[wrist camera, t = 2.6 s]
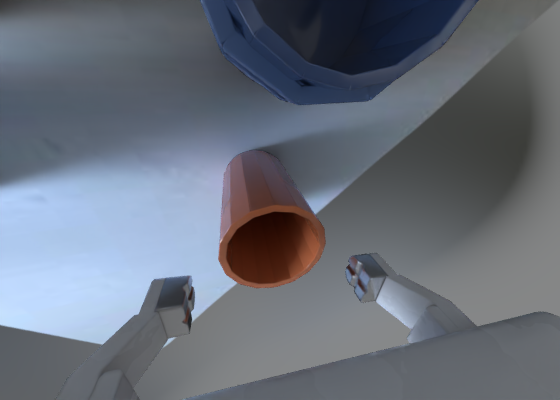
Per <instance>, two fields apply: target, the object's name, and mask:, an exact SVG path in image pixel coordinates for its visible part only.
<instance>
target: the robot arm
mask: <svg viewBox="0 0 560 400" xmlns="http://www.w3.org/2000/svg"><path fill="white" fill-rule="evenodd" d="M348 262H349V263H350V264H349V265H348V266H347V267H346V271H345V273H346V278H347V281H348V283H349V284H350V285H351V286H353V287H354V292H355V294H356V295H357V297H358V299H359V300H360V302H361V303H364V302H370V301H376V302H377V303H378V304H379V305H380V306H382V307H383V308H384V309H386V310H387V311H388V312H390V313H391V314H392V315H393V316H395V317H396V318H397V319H398V320H400V321H401V322H402V323H403V324H405V325H406V326H407V327H409V328H410V329H411V332H410V333H409V335H408V337H407V340H408V341H409V344H405V345H401V346H397V347H393V348H388V349H384V350H380V351H376V352H372V353H368V354H364V355H360V356H357V357H352V358H348V359H344V360H340V361H336V362H332V363H328V364H324V365H320V366H316V367H311V368H307V369H303V370H299V371H296V372H291V373H287V374H283V375H279V376H275V377H271V378H267V379H263V380H259V381H255V382H251V383H247V384H243V385H239V386H235V387H230V388H226V389H222V390H218V391H215V392H210V393H206V394H203V395H198V396H194V397H190V398H186V399H182V400H560V317H559V316H556V315H554V314H551V313H548V312H534V313H530V314H526V315H522V316H518V317H514V318H510V319H506V320H502V321H498V322H494V323H490V324H486V325H482V326H478V327H477V326H476V325H475V324H474V323H473V322H472V321H471V320H470V319H469V318H468V317H467V316H466V315H465V314H464V313H462V311H461V310H459V309H458V308H457V307H456V306H455V305H454V304H453V303H452V302H451V301H449V300H448V299H445V298H444V297H442V296H440V295H438V294H436V293H434V292H432V291H430V290H428V289H426V288H425V287H423V286H421V285H419V284H417V283H415V282H413V281H411V280H409V279H408V278H406V277H404V276H402V275H397V274H396V273H395V271H394V270H393V269H392V268H391V267H390V266H389V265H388V264H387V263H386V262H385V261H384V259H383V258H382V257H381V256H380V255H379V254H377V253H369V254H361V255H354V256H351V257H350V258H349V261H348ZM194 301H195V292H194V287H192V277H191V276H180V277H169V278H161V279H154V280H153V281H152V282H151V285H150V287H149V290H148V292H147V295H146V297H145V300H144V302H143V305H142V307H141V310H140V312H139V315H134V316H133V317H132V318H131V319H130V320H129V321H128V322H127V323H126V324H125V325H123V326H122V327H121V328H120V329H119V330H118V331H117V332H116V333H115V334H114V335H113V336H112V337H111V338H109V339H108V340H107V341H106V342H105V343H104V344H103V345H102V346H101V347H100V348H99V349H98V350H97V351H96V352H94V353H93V354H92V355H91V356H90V357H89V358H88V359H87V360H86V361H85V362H84V363H83V364H82V365H81V366H79V368H77V369H76V370H75V371H74V372H73V373H72V374H71V375H70V376H69V377H68V378H67V379H66V381H65V383H64V385H63V386H62V388H61V390H60V392H59V393H58V395H57V397H56V399H55V400H140V399H139V397H138V396H137V394H136V392H135V391H134V389H133V388H134V386H135V385H136V384H137V382H138V381H139V380H140V378H141V377H142V375H143V374H144V373H145V371H146V370H147V368H148V367H149V365H150V364H151V362H152V361H153V360H154V358H155V357H156V356H157V354H158V353H159V352H160V350H161V349H162V347H163V346H164V345H165V343H166V342H167V340H168V338H173V337H177V336H182V335H187V334H190V328H191V322H192V316H191V311H192V310H193V309H194Z"/></svg>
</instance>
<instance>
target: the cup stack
mask: <svg viewBox="0 0 560 400" xmlns="http://www.w3.org/2000/svg"><path fill="white" fill-rule="evenodd" d="M223 1H224V3H225V5H226V6H227V8H228V10H229V12H230V14H231V16H232V19H233V22H234V24H235V27H236V30H237V31H238V32H239V33H240V34H242V35H243V36H244V37H245V39H246V41H247V42H248V44H250V46H251V47H252V48H253V49H254V50H255V51H257V52H258V53H259V54H260V55H261V56H263V57H264V58H265V59H266V60H267V61H269V62H270V63H271V64H272V65H273V66H275V67H276V68H277V69H278V70H279V71H281V72H282V73H283V74H284V75H285V76H287V77H288V78H289V79H291V80H294V81H297V82H298V83H300V84H301V85H313V86H318V87H322V88H326V89H330V90H355V89H359V88H363V87H368V86H372V85H376V84H380V83H384V82H389V81H393V80H396V79H398V78H399V77H401V76H402V75H403V74H405V73H406V72H408V71H409V70H410V69H412V68H413V67H414V66H416V65H417V64H419V63H420V62H421V61H423V60H424V59H426V58H427V57H428V56H430V55H431V54H433V53H434V52H435V51H437V50H438V49H439V48H441V47H442V46H443V45H444V44H445V43H446V41H447V40H448V39H449V38H450V36H451V35H452V34H453V33H454V31H455V30H456V29H457V27H458V26H459V25H460V24H461V22H462V21H463V20H464V19H465V17H466V16H467V15H468V13H469V12H470V11H471V10H472V8H473V7H474V6H475V4H476V3H477V2H478V1H479V0H223ZM238 69H239V68H238ZM239 70H240V69H239ZM240 71H241V70H240ZM241 72H242V73H243V74H244V75H245V76H246V77H248V78H249V79H251V80H252V81H254V82H256V81H255V80H253V79H252V78H251V77H249V76H248V75H247V74H245V73H244V72H243V71H241Z"/></svg>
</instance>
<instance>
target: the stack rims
mask: <svg viewBox="0 0 560 400" xmlns="http://www.w3.org/2000/svg"><path fill="white" fill-rule="evenodd" d="M200 2H201V5H202V7H203V10H204V12H205V14H206V17H207V19H208V22H209V24H210V26H211V29H212V31H213V34H214V36H215V38H216V41H217V43H218V46H219V48H220V50H221V53H222V54H223V55H224V57H225V58H226V59H227V60H228V61H230V62H231V63H232V64H234V65H235V66H236V67H237V68H239V69H240V70H241V71H243V72H244V73H245V74H247V75H248V76H249V77H251V78H252V79H253V80H255V81H256V82H257V83H259V84H260V85H261V86H263V87H264V88H265V89H267V90H268V91H269V92H270V93H272V94H273V95H274V96H276V97H277V98H278V99H280V100H283V101H286V102H290V103H293V104H296V105H312V104H329V103H346V102H364V101H369V100H372V99H373V98H374V97H375V96H376V95H378V94H379V93H380V92H381V91H383V90H384V89H385V88H386V87H387V86H389V85H390V84H391V83H392V82H393V81H395V80H393V81H389V82H384V83H380V84H376V85H372V86H368V87H363V88H359V89H355V90H330V89H326V88H322V87H318V86H313V85H301V84H300V83H298V82H297V81H294V80H291V79H289V78H288V77H287V76H285V75H284V74H283V73H282V72H281V71H279V70H278V69H277V68H276V67H275V66H273V65H272V64H271V63H270V62H269V61H267V60H266V59H265V58H264V57H263V56H261V55H260V54H259V53H258V52H257V51H255V50H254V49H253V48H252V47H251V46H250V44H248V42H247V41H246V39H245V37H244V36H243V35H242V34H240V33H239V32H238V31H237V30H236V27H235V24H234V22H233V19H232V16H231V14H230V12H229V10H228V8H227V6H226V5H225V3H224V1H223V0H200Z"/></svg>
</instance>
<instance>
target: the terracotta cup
mask: <svg viewBox="0 0 560 400" xmlns="http://www.w3.org/2000/svg"><path fill="white" fill-rule="evenodd" d="M325 242H326V241H325V231H324V227H323V226H322V224H321V222H320V221H319V220H318V218H317V216H316V215H315V213H314V212H313V210H312V209H311V207H310V206H309V204H308V203H307V201H306V200H305V198H304V197H303V195H302V194H301V192H300V191H299V189H298V188H297V186H296V185H295V183H294V182H293V180H292V179H291V177H290V176H289V174H288V173H287V171H286V170H285V168H284V167H283V166H282V164H281V163H280V161H279V160H278V159H277V158H276V157H275V156H273V155H272V154H270V153H268V152H265V151H260V150H251V151H246V152H243V153H241V154H239V155H237V156H236V157H235V158H233V159H232V160H231V162H230V163H229V164H228V166H227V168H226V170H225V173H224V180H223V195H222V211H221V226H220V242H219V257H218V259H219V262H220V264H221V266H222V268H223V270H224V272H225V274H226V275H227V276H229V277H230V278H232V279H233V280H234V281H236V282H237V283H239V284H241V285H245V286H250V287H254V288H272V287H278V286H280V285H284V284H287V283H290V282H293V281H295V280H296V279H298V278H300V277H301V276H303V275H304V274H306V273H307V272H309V271H310V270H311V268H312V267H313V266H314V265H315V264H316V263H317V262H318V261H319V259H320V257H321V255H322V252H323V250H324V247H325V244H326V243H325Z"/></svg>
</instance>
